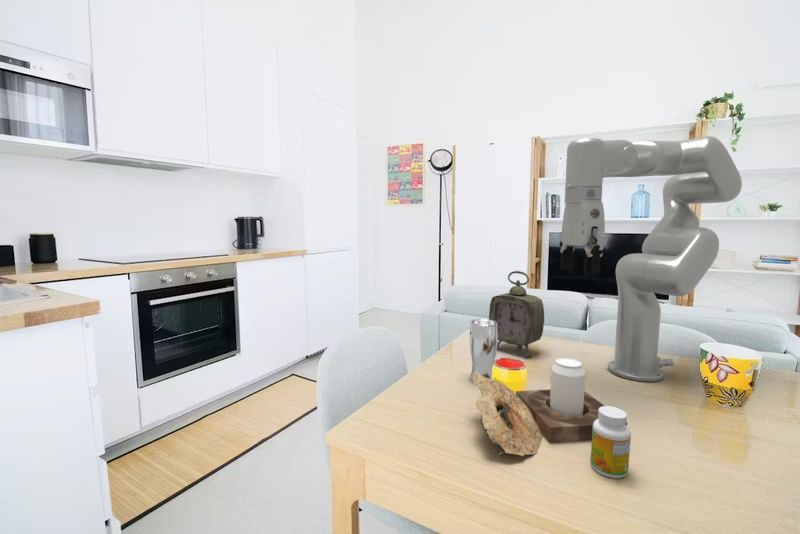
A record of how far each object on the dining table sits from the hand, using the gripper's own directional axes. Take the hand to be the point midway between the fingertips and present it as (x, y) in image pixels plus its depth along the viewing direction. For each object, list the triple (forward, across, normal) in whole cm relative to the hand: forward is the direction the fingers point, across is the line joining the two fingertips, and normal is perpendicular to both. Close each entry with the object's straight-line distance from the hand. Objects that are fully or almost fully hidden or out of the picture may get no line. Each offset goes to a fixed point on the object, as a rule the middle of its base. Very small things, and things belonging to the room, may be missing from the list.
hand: (578, 272), depth 88 cm
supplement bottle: (+28, -28, +10) cm, 42 cm away
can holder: (+28, -13, +9) cm, 32 cm away
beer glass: (+28, +8, +20) cm, 35 cm away
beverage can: (+28, -13, +9) cm, 32 cm away
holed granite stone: (+29, -17, +23) cm, 40 cm away
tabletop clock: (+28, +28, +2) cm, 40 cm away
